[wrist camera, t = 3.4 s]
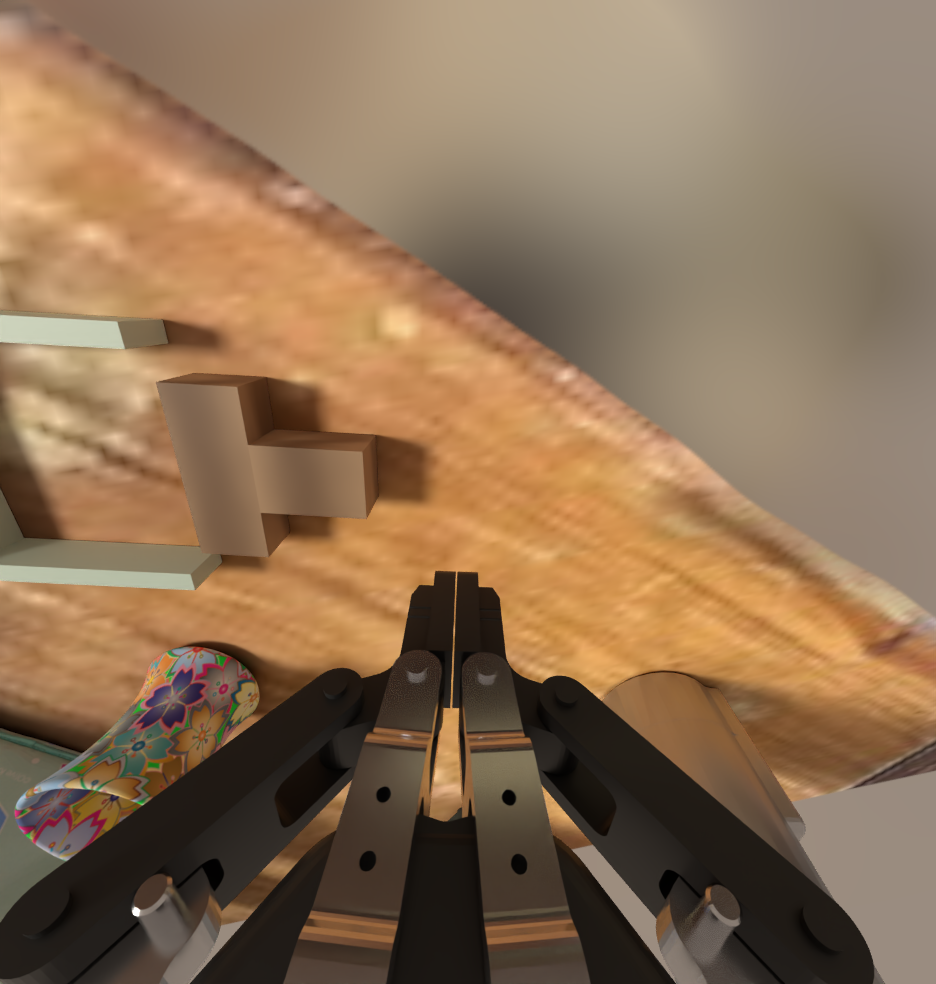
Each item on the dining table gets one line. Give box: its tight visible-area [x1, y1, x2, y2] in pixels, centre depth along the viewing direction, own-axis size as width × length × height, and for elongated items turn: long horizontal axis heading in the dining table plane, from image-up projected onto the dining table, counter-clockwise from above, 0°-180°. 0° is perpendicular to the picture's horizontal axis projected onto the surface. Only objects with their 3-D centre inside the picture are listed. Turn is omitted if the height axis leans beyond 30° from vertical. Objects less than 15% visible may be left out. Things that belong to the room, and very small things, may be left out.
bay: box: [0, 310, 222, 590], centre depth 23 cm, size 14×15×3 cm
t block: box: [156, 373, 379, 557], centre depth 23 cm, size 10×10×3 cm
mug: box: [15, 647, 260, 861], centre depth 28 cm, size 12×9×11 cm
